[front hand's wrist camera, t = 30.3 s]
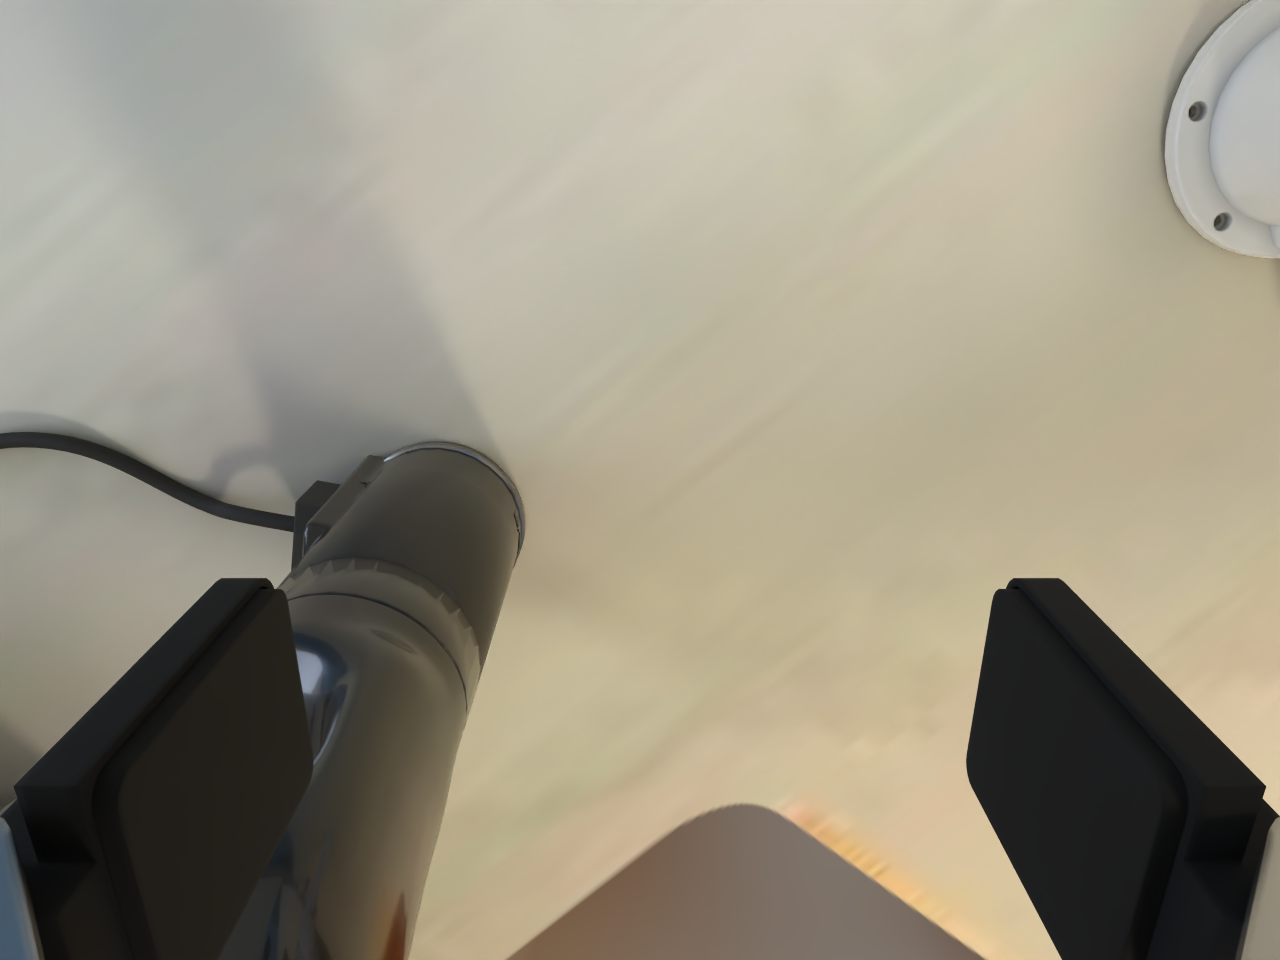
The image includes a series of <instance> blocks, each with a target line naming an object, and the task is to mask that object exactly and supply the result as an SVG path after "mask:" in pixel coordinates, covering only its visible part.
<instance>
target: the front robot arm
mask: <svg viewBox="0 0 1280 960" xmlns="http://www.w3.org/2000/svg"><path fill="white" fill-rule="evenodd" d="M1189 109H1191V114H1190V116H1188V115H1189ZM1165 164H1166V172H1167V179H1168V184H1169V186H1170V189H1171V192H1172V195H1173V197H1174V200H1175V203H1176V205H1177V207H1178V208H1179V210H1180V211H1181V213H1182V214H1183V216H1184V217H1185V219H1186V221H1187V222H1188V223H1189V224H1190V225H1191V226H1192V227H1193V228H1194V229H1195V230H1196V231H1197V232H1198V233H1199V234H1200V235H1201V236H1202V237H1203V238H1205V239H1207V240H1208V241H1210V242H1212V243H1214V244H1215V245H1217V246H1219V247H1221V248H1222V249H1225V250H1229V251H1232V252H1235V253H1239V254H1242V255H1247V256H1254V257H1261V258H1280V0H1251V1H1250V2H1248V3H1246V4H1245V5H1243V6H1242V7H1241V8H1239V9H1238V10H1237V11H1236V12H1235V13H1234V14H1233V15H1232V16H1231V17H1229V18H1228V19H1227V20H1226V21H1225V22H1224V23H1223V24H1222V25H1220V26H1219V27H1218V28H1217V30H1216V31H1215V32H1214V33H1213V35H1212V36H1211V37H1210V38H1209V39H1208V41H1207V42H1206V43H1205V44H1204V45H1203V47H1202V48H1201V49H1200V50H1199V52H1198V53H1197V55H1196V57H1195V58H1194V60H1193V62H1192V63H1191V65H1190V67H1189V68H1188V70H1187V72H1186V73H1185V75H1184V77H1183V79H1182V81H1181V84H1180V86H1179V89H1178V91H1177V94H1176V96H1175V98H1174V101H1173V103H1172V107H1171V111H1170V116H1169V120H1168V124H1167V129H1166V139H1165ZM1215 218H1216V221H1215V223H1214V220H1215ZM313 765H314V758H313V750H312V744H311V738H310V732H309V726H308V720H307V714H306V708H305V702H304V696H303V690H302V684H301V678H300V672H299V666H298V660H297V654H296V648H295V642H294V636H293V630H292V624H291V618H290V612H289V606H288V600H287V596H286V594H285V592H284V591H283V590H282V589H274V587H273V585H272V583H271V582H270V581H269V580H268V579H267V578H221V579H220V580H218V581H217V582H215V583H214V584H213V586H212V587H211V588H210V589H209V590H208V591H207V592H206V593H205V594H204V595H203V596H202V597H201V598H200V599H199V600H198V601H197V602H196V603H195V604H194V605H193V606H192V607H191V608H190V609H189V610H188V611H187V612H186V613H185V614H184V615H183V616H182V617H181V618H180V619H179V620H178V621H177V622H176V623H175V624H174V625H173V626H172V627H171V628H170V629H169V630H168V631H167V632H166V633H165V634H164V635H163V636H162V637H161V638H160V639H159V640H158V641H157V642H156V643H155V644H154V645H153V646H152V647H151V648H150V649H149V650H148V651H147V652H146V653H145V654H144V655H143V656H142V657H141V658H140V659H139V660H138V661H137V662H136V663H135V664H134V665H133V666H132V667H131V668H130V669H129V670H128V671H127V672H126V673H125V674H124V675H123V676H122V677H121V678H120V680H119V681H118V682H117V683H116V684H115V685H114V686H113V687H112V688H111V689H110V690H109V691H108V692H107V693H106V694H105V695H104V696H103V697H102V698H101V699H100V700H99V701H98V702H97V703H96V704H95V705H94V706H93V707H92V708H91V709H90V710H89V711H88V712H87V713H86V714H85V715H84V716H83V717H82V718H81V719H80V720H79V721H78V722H77V723H76V724H75V725H74V726H73V727H72V728H71V729H70V730H69V731H68V732H67V733H66V734H65V735H64V736H63V737H62V738H61V739H60V740H59V741H58V742H57V743H56V744H55V745H54V746H53V747H52V748H51V749H50V750H49V751H48V752H47V753H46V754H45V755H44V756H43V757H42V758H41V759H40V760H39V761H38V762H37V763H36V764H35V765H34V766H33V767H32V768H31V769H30V770H29V771H28V773H27V774H26V775H25V776H24V777H23V778H22V779H21V780H20V781H19V782H18V783H17V784H16V785H15V786H14V789H15V792H16V795H17V799H16V801H15V802H14V803H13V804H12V805H11V806H10V807H9V808H8V809H7V810H6V811H5V812H4V813H3V814H2V815H1V816H0V960H218V959H219V957H220V955H221V953H222V951H223V949H224V947H225V945H226V943H227V941H228V939H229V938H230V936H231V934H232V932H233V930H234V928H235V926H236V924H237V922H238V920H239V918H240V917H241V915H242V913H243V911H244V909H245V907H246V905H247V903H248V901H249V899H250V897H251V895H252V894H253V892H254V890H255V888H256V886H257V884H258V882H259V880H260V878H261V876H262V874H263V873H264V871H265V869H266V867H267V865H268V863H269V861H270V859H271V857H272V855H273V853H274V852H275V850H276V848H277V846H278V844H279V842H280V840H281V838H282V836H283V834H284V832H285V831H286V829H287V827H288V825H289V823H290V821H291V819H292V817H293V815H294V813H295V811H296V810H297V808H298V806H299V804H300V802H301V800H302V798H303V796H304V794H305V792H306V790H307V789H308V786H309V784H310V782H311V778H312V774H313ZM966 765H967V774H968V778H969V782H970V784H971V786H972V789H973V790H974V792H975V794H976V796H977V798H978V800H979V802H980V804H981V806H982V808H983V810H984V811H985V813H986V815H987V817H988V819H989V821H990V823H991V825H992V827H993V829H994V831H995V832H996V834H997V836H998V838H999V840H1000V842H1001V844H1002V846H1003V848H1004V850H1005V852H1006V853H1007V855H1008V857H1009V859H1010V861H1011V863H1012V865H1013V867H1014V869H1015V871H1016V873H1017V874H1018V876H1019V878H1020V880H1021V882H1022V884H1023V886H1024V888H1025V890H1026V892H1027V894H1028V895H1029V897H1030V899H1031V901H1032V903H1033V905H1034V907H1035V909H1036V911H1037V913H1038V915H1039V917H1040V918H1041V920H1042V922H1043V924H1044V926H1045V928H1046V930H1047V932H1048V934H1049V936H1050V938H1051V939H1052V941H1053V943H1054V945H1055V947H1056V949H1057V951H1058V953H1059V955H1060V957H1061V959H1062V960H1280V816H1279V815H1278V814H1277V813H1276V812H1275V811H1274V810H1273V809H1272V808H1271V807H1270V806H1269V805H1268V804H1267V803H1266V802H1265V801H1264V799H1263V795H1264V792H1265V789H1266V786H1265V785H1264V784H1263V783H1262V782H1261V781H1260V780H1259V779H1258V778H1257V777H1256V776H1255V775H1254V774H1253V773H1252V771H1251V770H1250V769H1249V768H1248V767H1247V766H1246V765H1245V764H1244V763H1243V762H1242V761H1241V760H1240V759H1239V758H1238V757H1237V756H1236V755H1235V754H1234V753H1233V752H1232V751H1231V750H1230V749H1229V748H1228V747H1227V746H1226V745H1225V744H1224V743H1223V742H1222V741H1221V740H1220V739H1219V738H1218V737H1217V736H1216V735H1215V734H1214V733H1213V732H1212V731H1211V730H1210V729H1209V728H1208V727H1207V726H1206V725H1205V724H1204V723H1203V722H1202V721H1201V720H1200V719H1199V718H1198V717H1197V716H1196V715H1195V714H1194V713H1193V712H1192V711H1191V710H1190V709H1189V708H1188V707H1187V706H1186V705H1185V704H1184V703H1183V702H1182V701H1181V700H1180V699H1179V698H1178V697H1177V696H1176V695H1175V694H1174V693H1173V692H1172V691H1171V690H1170V689H1169V688H1168V687H1167V686H1166V685H1165V684H1164V683H1163V682H1162V681H1161V680H1160V678H1159V677H1158V676H1157V675H1156V674H1155V673H1154V672H1153V671H1152V670H1151V669H1150V668H1149V667H1148V666H1147V665H1146V664H1145V663H1144V662H1143V661H1142V660H1141V659H1140V658H1139V657H1138V656H1137V655H1136V654H1135V653H1134V652H1133V651H1132V650H1131V649H1130V648H1129V647H1128V646H1127V645H1126V644H1125V643H1124V642H1123V641H1122V640H1121V639H1120V638H1119V637H1118V636H1117V635H1116V634H1115V633H1114V632H1113V631H1112V630H1111V629H1110V628H1109V627H1108V626H1107V625H1106V624H1105V623H1104V622H1103V621H1102V620H1101V619H1100V618H1099V617H1098V616H1097V615H1096V614H1095V613H1094V612H1093V611H1092V610H1091V609H1090V608H1089V607H1088V606H1087V605H1086V604H1085V603H1084V602H1083V601H1082V600H1081V599H1080V598H1079V597H1078V596H1077V595H1076V594H1075V593H1074V592H1073V591H1072V590H1071V589H1070V588H1069V587H1068V586H1067V584H1066V583H1065V582H1063V581H1062V580H1060V579H1059V578H1013V579H1012V580H1011V581H1010V582H1009V583H1008V585H1007V587H1006V589H998V590H997V591H996V592H995V594H994V596H993V600H992V606H991V612H990V618H989V624H988V630H987V636H986V642H985V648H984V654H983V660H982V666H981V672H980V678H979V684H978V690H977V696H976V702H975V708H974V714H973V720H972V726H971V732H970V738H969V744H968V750H967V758H966Z"/></svg>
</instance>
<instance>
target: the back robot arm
mask: <svg viewBox="0 0 1280 960" xmlns="http://www.w3.org/2000/svg"><path fill="white" fill-rule="evenodd" d="M15 447H34V448H47V449H55V450H61V451H67V452H71V453H75V454H79V455H82V456H85V457H89V458H92V459H95V460H97V461H100V462H103V463H105V464H108V465H110V466H112V467H115V468H117V469H119V470H121V471H123V472H125V473H127V474H129V475H132V476H134V477H136V478H137V479H139V480H141V481H143V482H145V483H147V484H149V485H151V486H153V487H155V488H157V489H159V490H160V491H162V492H164V493H166V494H168V495H170V496H172V497H174V498H176V499H178V500H180V501H182V502H184V503H186V504H188V505H190V506H193V507H195V508H197V509H200V510H202V511H205V512H207V513H210V514H212V515H215V516H218V517H221V518H225V519H229V520H233V521H238V522H242V523H247V524H252V525H257V526H262V527H268V528H273V529H279V530H285V531H290V532H294V537H293V552H292V567H291V572H290V573H289V575H288V576H287V577H286V578H285V579H284V581H283V582H282V583H281V584H280V585H279V587H278V588H277V589H282V590H283V591H284V592H285V594H286V596H287V600H288V606H289V612H290V618H291V624H292V630H293V636H294V642H295V648H296V654H297V660H298V666H299V672H300V678H301V684H302V690H303V696H304V702H305V708H306V714H307V720H308V726H309V732H310V738H311V744H312V750H313V758H314V765H313V774H312V778H311V782H310V784H309V786H308V789H307V790H306V792H305V794H304V796H303V798H302V800H301V802H300V804H299V806H298V808H297V810H296V811H295V813H294V815H293V817H292V819H291V821H290V823H289V825H288V827H287V829H286V831H285V832H284V834H283V836H282V838H281V840H280V842H279V844H278V846H277V848H276V850H275V852H274V853H273V855H272V857H271V859H270V861H269V863H268V865H267V867H266V869H265V871H264V873H263V874H262V876H261V878H260V880H259V882H258V884H257V886H256V888H255V890H254V892H253V894H252V895H251V897H250V899H249V901H248V903H247V905H246V907H245V909H244V911H243V913H242V915H241V917H240V918H239V920H238V922H237V924H236V926H235V928H234V930H233V932H232V934H231V936H230V938H229V939H228V941H227V943H226V945H225V947H224V949H223V951H222V953H221V955H220V957H219V959H218V960H408V959H409V954H410V950H411V945H412V940H413V936H414V931H415V926H416V922H417V917H418V912H419V908H420V904H421V900H422V895H423V891H424V887H425V883H426V879H427V875H428V870H429V866H430V863H431V859H432V856H433V852H434V848H435V845H436V841H437V838H438V834H439V831H440V827H441V823H442V819H443V814H444V810H445V806H446V801H447V796H448V791H449V786H450V782H451V777H452V771H453V767H454V763H455V759H456V754H457V750H458V747H459V744H460V741H461V737H462V734H463V731H464V728H465V725H466V722H467V718H468V715H469V712H470V709H471V705H472V702H473V699H474V695H475V692H476V689H477V685H478V682H479V679H480V676H481V672H482V669H483V666H484V663H485V659H486V656H487V653H488V649H489V646H490V643H491V640H492V636H493V633H494V630H495V627H496V623H497V620H498V617H499V613H500V610H501V607H502V604H503V600H504V597H505V594H506V591H507V587H508V584H509V581H510V577H511V574H512V571H513V568H514V566H515V563H516V560H517V558H518V556H519V553H520V550H521V547H522V544H523V540H524V535H525V513H524V508H523V504H522V501H521V498H520V496H519V494H518V491H517V490H516V488H515V486H514V484H513V483H512V481H511V480H510V478H509V477H508V476H507V475H506V474H505V472H504V471H503V470H502V469H501V468H500V467H499V466H498V465H496V464H495V463H494V462H493V461H491V460H490V459H488V458H487V457H486V456H484V455H482V454H480V453H479V452H477V451H474V450H472V449H470V448H467V447H464V446H461V445H457V444H453V443H446V442H425V443H418V444H414V445H410V446H407V447H405V448H402V449H400V450H398V451H396V452H394V453H392V454H391V455H389V456H388V457H377V456H372V455H370V456H367V457H366V458H365V459H364V460H363V462H362V463H361V464H360V465H359V466H358V467H357V468H356V469H355V470H354V472H353V473H352V474H351V475H350V476H349V477H348V478H347V479H346V480H345V482H344V483H343V484H342V485H339V484H334V483H329V482H323V481H316V482H315V483H314V484H313V485H312V486H311V487H310V488H309V489H308V490H307V491H306V492H305V493H304V494H303V495H302V496H301V497H300V498H299V499H298V500H297V501H296V506H295V517H293V516H287V515H282V514H276V513H270V512H265V511H260V510H254V509H249V508H245V507H240V506H236V505H231V504H227V503H224V502H221V501H218V500H216V499H213V498H211V497H208V496H205V495H203V494H201V493H199V492H197V491H194V490H192V489H190V488H188V487H186V486H184V485H182V484H180V483H178V482H176V481H174V480H172V479H171V478H169V477H167V476H165V475H163V474H161V473H159V472H157V471H156V470H154V469H152V468H150V467H148V466H146V465H144V464H142V463H140V462H138V461H136V460H134V459H132V458H130V457H128V456H126V455H123V454H121V453H119V452H117V451H114V450H112V449H109V448H107V447H104V446H101V445H98V444H95V443H92V442H89V441H86V440H82V439H78V438H74V437H69V436H63V435H57V434H49V433H36V432H16V433H4V434H0V449H3V448H15ZM16 799H17V798H16ZM16 799H14V800H13V801H11V802H10V803H9V804H7V805H6V806H5V807H4V808H3V809H1V810H0V816H1V815H2V814H3V813H4V812H5V811H6V810H7V809H8V808H9V807H10V806H11V805H12V804H13V803H14V802H15V801H16Z"/></svg>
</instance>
